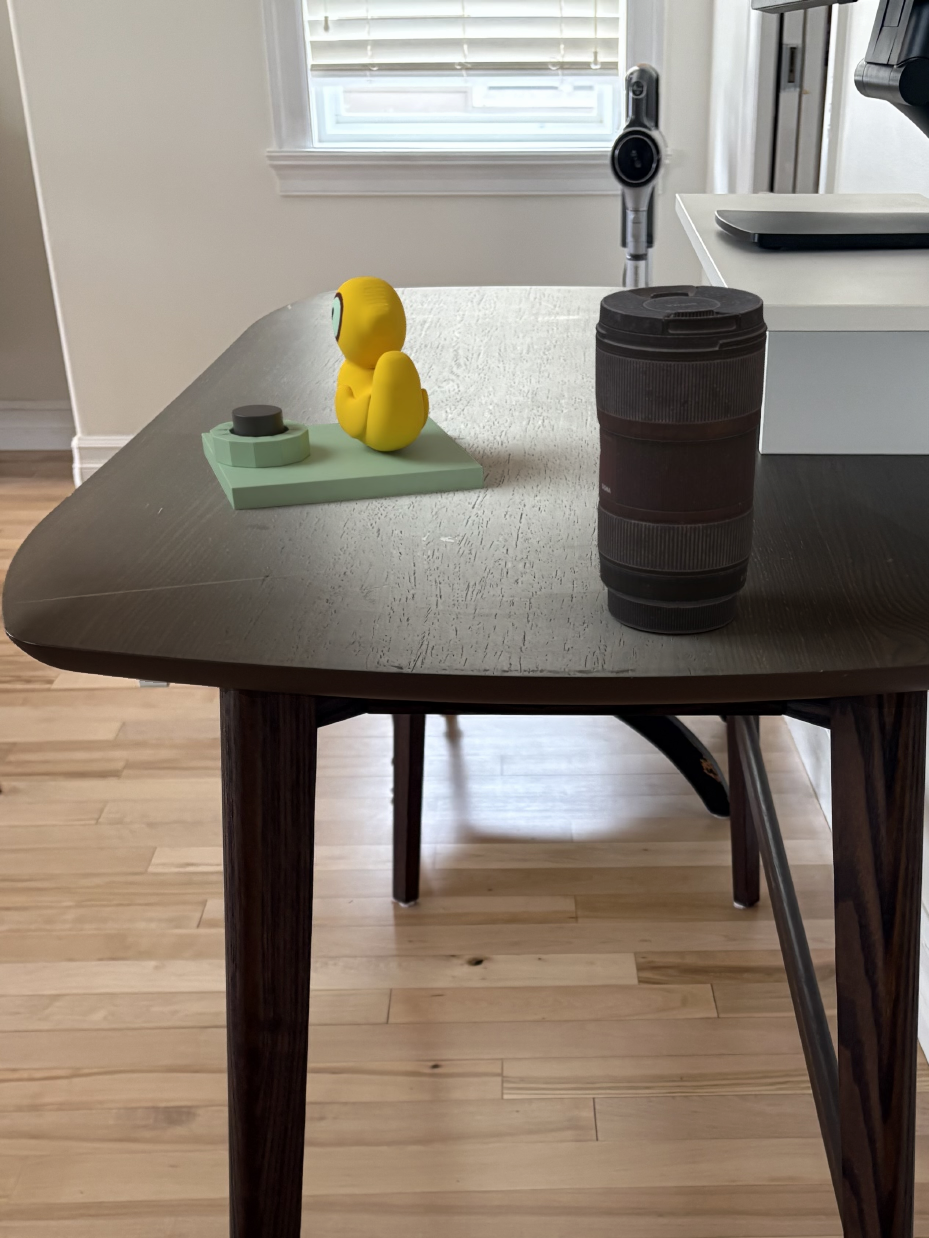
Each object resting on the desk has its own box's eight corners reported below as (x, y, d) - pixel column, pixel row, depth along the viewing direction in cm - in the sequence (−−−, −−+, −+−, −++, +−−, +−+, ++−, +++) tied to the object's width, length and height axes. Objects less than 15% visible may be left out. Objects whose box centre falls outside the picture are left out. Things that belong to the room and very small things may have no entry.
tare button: (238, 443, 96) (235, 418, 95) (231, 431, 99) (228, 406, 98) (288, 440, 97) (286, 414, 96) (280, 428, 99) (277, 403, 99)
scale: (233, 511, 93) (227, 460, 91) (203, 454, 104) (197, 408, 102) (484, 489, 97) (482, 440, 96) (430, 437, 108) (428, 392, 106)
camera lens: (572, 596, 81) (572, 287, 72) (711, 580, 83) (727, 279, 75) (624, 648, 75) (631, 318, 66) (773, 630, 77) (799, 308, 68)
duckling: (316, 429, 104) (301, 268, 98) (390, 422, 106) (380, 263, 100) (367, 470, 96) (355, 297, 90) (447, 462, 97) (440, 291, 92)
